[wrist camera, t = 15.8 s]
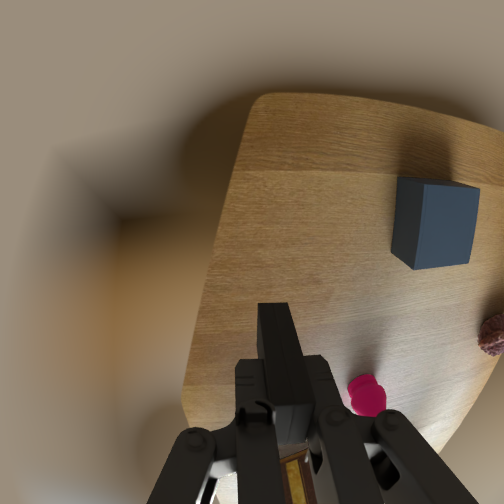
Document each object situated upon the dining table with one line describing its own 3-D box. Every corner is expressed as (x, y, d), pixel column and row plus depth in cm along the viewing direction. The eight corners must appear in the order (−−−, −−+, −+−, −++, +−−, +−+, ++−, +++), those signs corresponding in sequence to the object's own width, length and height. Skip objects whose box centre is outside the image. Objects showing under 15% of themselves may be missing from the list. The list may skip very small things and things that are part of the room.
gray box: (413, 270, 36) (468, 263, 37) (424, 184, 32) (480, 188, 33) (390, 252, 43) (444, 248, 44) (397, 176, 39) (452, 180, 39)
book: (322, 439, 60) (346, 523, 37) (334, 449, 63) (357, 524, 40) (249, 468, 63) (256, 545, 40) (265, 476, 66) (275, 547, 43)
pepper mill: (347, 400, 55) (377, 474, 36) (343, 380, 52) (376, 461, 34) (377, 387, 54) (413, 457, 36) (376, 367, 52) (417, 442, 33)
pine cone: (513, 296, 51) (529, 327, 45) (490, 317, 58) (505, 346, 52) (487, 318, 45) (507, 355, 39) (460, 339, 53) (477, 374, 47)
